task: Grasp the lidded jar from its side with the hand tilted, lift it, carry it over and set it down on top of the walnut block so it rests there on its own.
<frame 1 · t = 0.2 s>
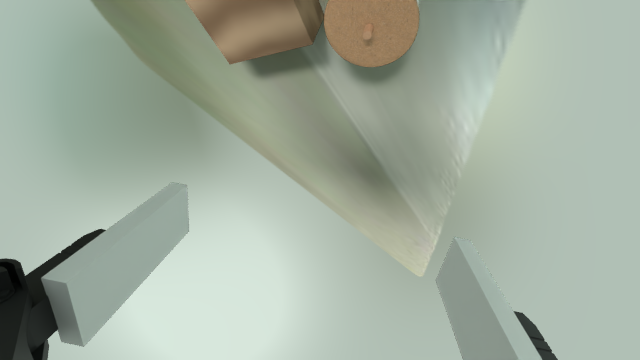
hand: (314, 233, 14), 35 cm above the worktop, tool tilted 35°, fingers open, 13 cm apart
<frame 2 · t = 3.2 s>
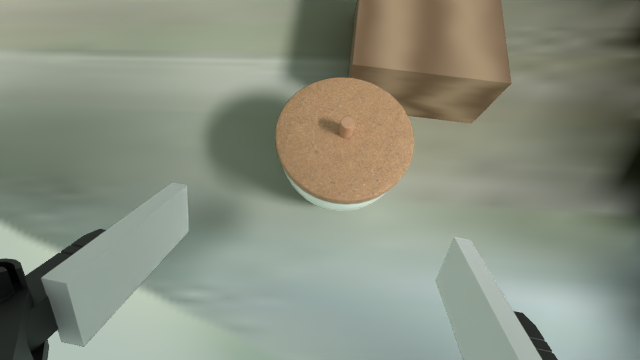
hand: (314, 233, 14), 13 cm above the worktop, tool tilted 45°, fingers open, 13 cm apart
walnut block: (408, 66, 35), on the worktop
lidded jar: (336, 171, 30), on the worktop
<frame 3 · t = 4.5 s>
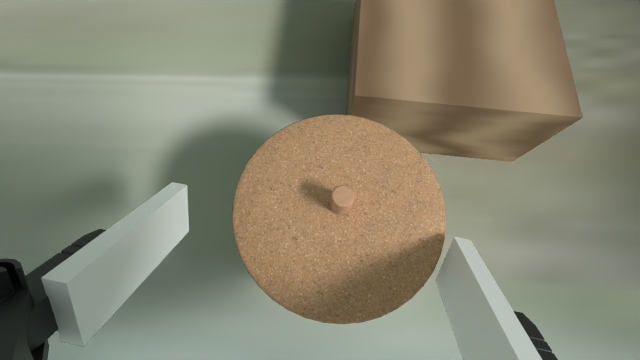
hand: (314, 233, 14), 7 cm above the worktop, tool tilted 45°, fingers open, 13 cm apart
walnut block: (424, 85, 27), on the worktop
lidded jar: (330, 232, 22), on the worktop
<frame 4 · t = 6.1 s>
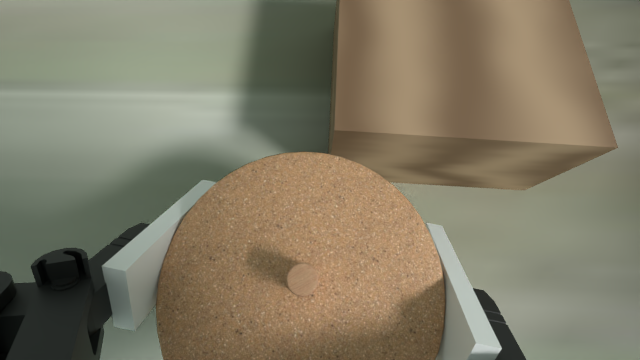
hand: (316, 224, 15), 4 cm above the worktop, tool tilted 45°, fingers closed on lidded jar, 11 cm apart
walnut block: (418, 102, 23), on the worktop
lidded jar: (305, 283, 18), on the worktop, touching gripper
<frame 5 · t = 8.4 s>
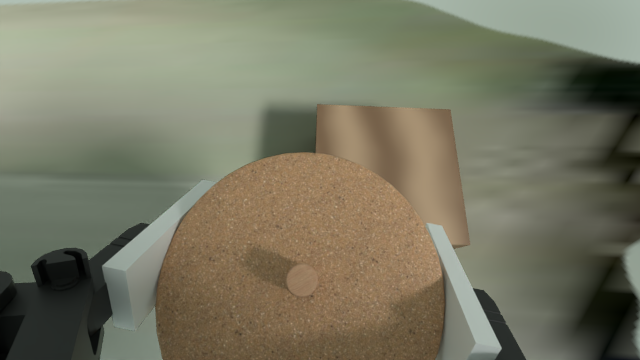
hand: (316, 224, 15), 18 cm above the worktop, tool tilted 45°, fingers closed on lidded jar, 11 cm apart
walnut block: (373, 190, 35), on the worktop
lidded jar: (305, 284, 18), point 13 cm above the worktop, touching gripper
when the fingers open (12 cm above the worktop, at t = 11.0 s): lidded jar drops 2 cm, resting on walnut block.
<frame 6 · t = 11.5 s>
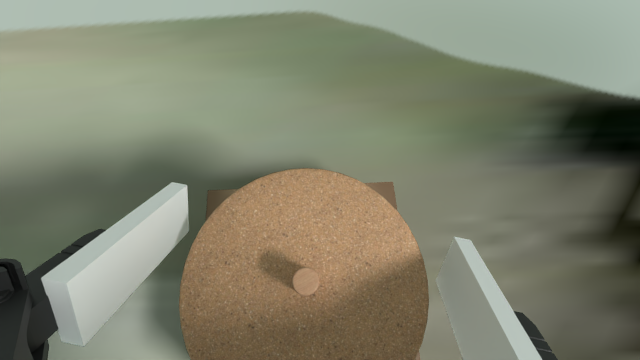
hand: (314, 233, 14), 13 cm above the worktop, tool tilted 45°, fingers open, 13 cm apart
walnut block: (306, 284, 26), on the worktop, touching lidded jar
lidded jar: (306, 284, 20), point 6 cm above the worktop, touching walnut block
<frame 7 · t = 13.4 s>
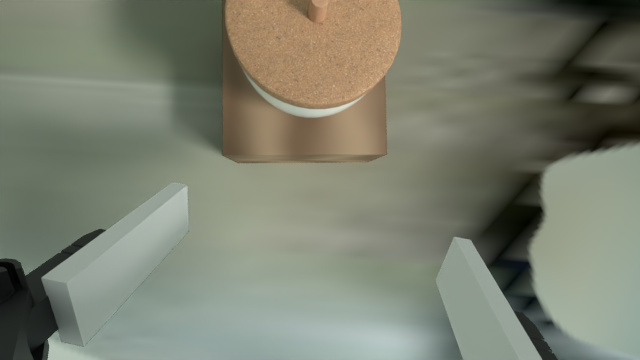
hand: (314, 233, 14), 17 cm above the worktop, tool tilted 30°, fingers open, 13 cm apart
walnut block: (303, 99, 32), on the worktop, touching lidded jar
lidded jar: (306, 71, 25), point 7 cm above the worktop, touching walnut block
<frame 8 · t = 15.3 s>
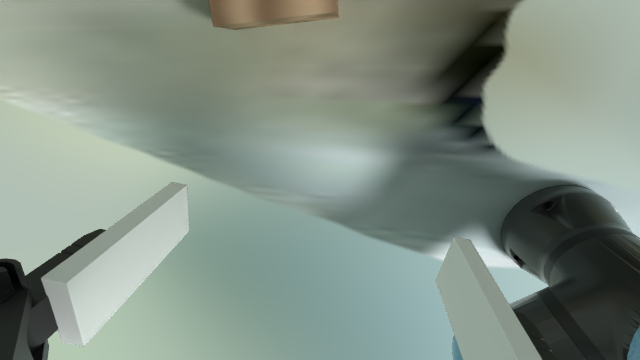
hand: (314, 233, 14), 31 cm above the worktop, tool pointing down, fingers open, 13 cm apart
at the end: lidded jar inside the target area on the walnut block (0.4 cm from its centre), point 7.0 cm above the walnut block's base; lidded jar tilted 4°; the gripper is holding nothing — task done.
